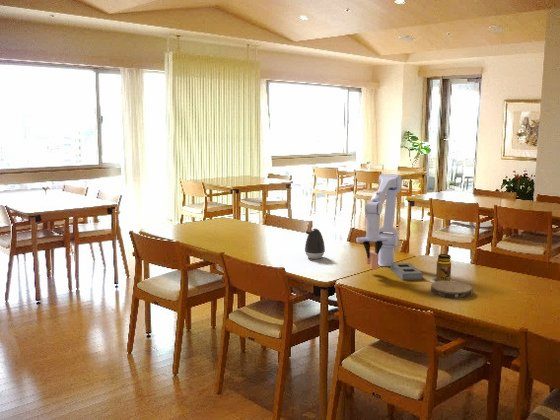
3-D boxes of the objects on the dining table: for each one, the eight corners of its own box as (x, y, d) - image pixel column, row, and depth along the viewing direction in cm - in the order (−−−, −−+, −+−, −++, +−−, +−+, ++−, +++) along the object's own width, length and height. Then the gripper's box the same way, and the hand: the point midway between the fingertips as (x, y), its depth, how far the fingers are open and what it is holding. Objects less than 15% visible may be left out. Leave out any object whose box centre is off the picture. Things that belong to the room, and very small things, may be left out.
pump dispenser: (300, 256, 290) (300, 227, 288) (318, 254, 295) (318, 226, 292) (310, 261, 281) (311, 231, 279) (328, 258, 286) (329, 229, 283)
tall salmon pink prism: (366, 262, 260) (366, 250, 259) (372, 262, 261) (372, 250, 260) (371, 268, 251) (371, 255, 250) (378, 268, 251) (378, 255, 250)
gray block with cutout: (390, 269, 266) (390, 263, 266) (409, 268, 267) (409, 262, 267) (402, 280, 249) (402, 273, 248) (422, 279, 249) (422, 273, 249)
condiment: (449, 284, 242) (450, 257, 240) (429, 282, 246) (430, 255, 244) (452, 280, 248) (454, 254, 246) (433, 278, 252) (434, 251, 250)
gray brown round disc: (425, 287, 239) (425, 281, 238) (462, 287, 240) (462, 280, 239) (438, 299, 223) (439, 292, 222) (477, 299, 224) (478, 291, 224)
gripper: (359, 230, 248) (358, 260, 251) (391, 229, 250) (390, 259, 252) (355, 227, 255) (354, 256, 257) (386, 226, 256) (386, 255, 259)
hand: (372, 257), depth 255 cm, fingers closed on tall salmon pink prism, 3 cm apart
